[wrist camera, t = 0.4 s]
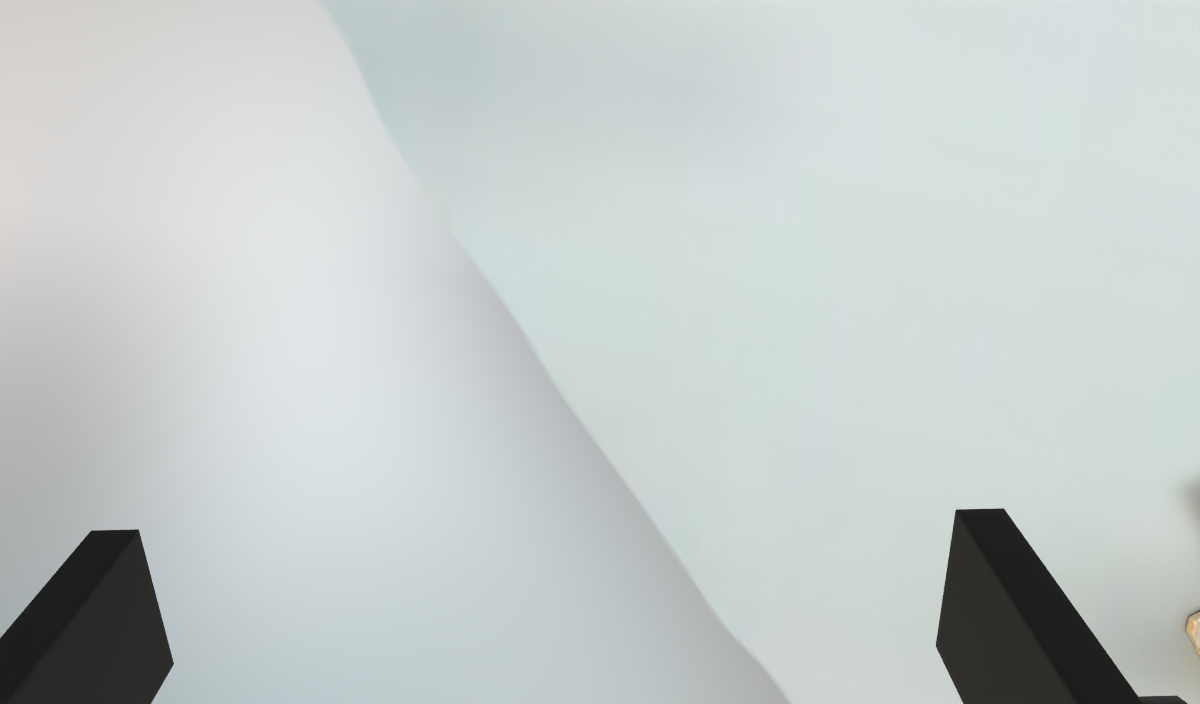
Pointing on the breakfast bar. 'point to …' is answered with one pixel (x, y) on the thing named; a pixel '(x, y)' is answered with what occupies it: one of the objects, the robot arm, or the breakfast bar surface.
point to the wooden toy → (1194, 630)
